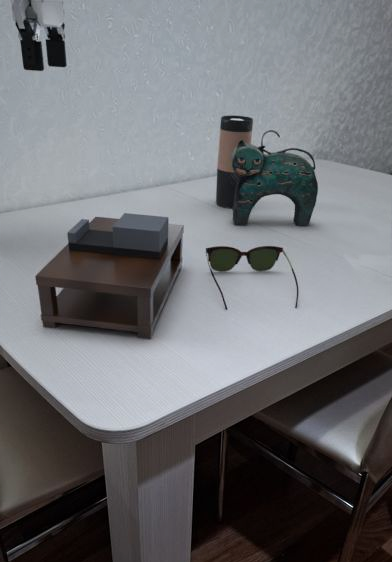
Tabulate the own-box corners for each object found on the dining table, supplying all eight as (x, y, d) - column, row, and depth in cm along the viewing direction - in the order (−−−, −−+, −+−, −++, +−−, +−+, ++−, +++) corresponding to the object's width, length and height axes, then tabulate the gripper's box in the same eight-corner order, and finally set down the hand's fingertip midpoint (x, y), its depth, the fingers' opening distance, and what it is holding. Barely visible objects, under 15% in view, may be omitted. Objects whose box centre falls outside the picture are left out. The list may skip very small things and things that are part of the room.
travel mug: (246, 201, 130) (254, 116, 119) (243, 210, 123) (252, 121, 113) (217, 198, 131) (222, 114, 120) (212, 206, 124) (218, 119, 114)
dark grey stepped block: (68, 250, 76) (65, 222, 74) (83, 235, 81) (81, 208, 79) (159, 259, 75) (159, 231, 72) (168, 244, 80) (168, 217, 78)
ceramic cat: (227, 226, 112) (235, 130, 102) (223, 217, 118) (231, 125, 107) (314, 228, 114) (331, 134, 103) (306, 219, 120) (321, 128, 109)
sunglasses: (279, 270, 93) (283, 245, 90) (303, 314, 82) (309, 287, 79) (202, 271, 91) (204, 246, 88) (216, 316, 80) (219, 289, 77)
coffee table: (41, 326, 72) (35, 275, 68) (98, 258, 94) (95, 216, 90) (150, 340, 71) (150, 288, 66) (182, 267, 92) (183, 225, 88)
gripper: (33, -57, 82) (45, 64, 91) (-21, -75, 67) (0, 70, 77) (77, -55, 81) (85, 66, 90) (33, -73, 67) (47, 73, 76)
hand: (46, 68), depth 83 cm, fingers open, 9 cm apart
